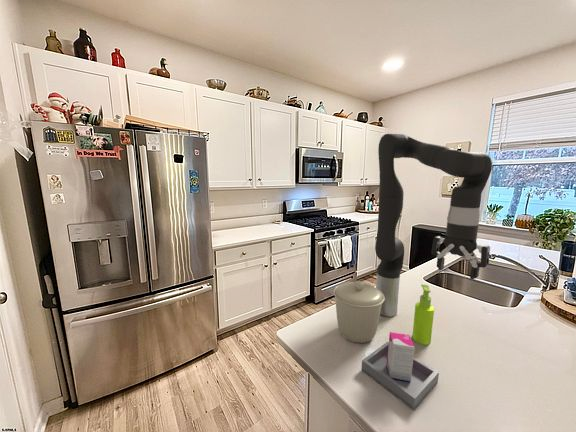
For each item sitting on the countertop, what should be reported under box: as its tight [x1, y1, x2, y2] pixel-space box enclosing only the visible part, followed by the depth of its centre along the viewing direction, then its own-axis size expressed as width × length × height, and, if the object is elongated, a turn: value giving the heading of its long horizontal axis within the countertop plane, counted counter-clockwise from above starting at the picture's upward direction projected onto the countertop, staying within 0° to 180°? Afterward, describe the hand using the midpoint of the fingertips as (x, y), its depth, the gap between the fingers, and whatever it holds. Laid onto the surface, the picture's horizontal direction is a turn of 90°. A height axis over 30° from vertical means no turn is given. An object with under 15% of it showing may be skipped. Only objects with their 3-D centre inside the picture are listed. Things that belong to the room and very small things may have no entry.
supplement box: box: [387, 331, 415, 382], centre depth 71 cm, size 6×6×12 cm
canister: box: [332, 280, 385, 344], centre depth 89 cm, size 18×18×21 cm
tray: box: [361, 341, 440, 411], centre depth 71 cm, size 16×14×4 cm
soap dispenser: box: [411, 284, 435, 346], centre depth 87 cm, size 6×7×20 cm
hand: (455, 273), depth 73 cm, fingers open, 8 cm apart
